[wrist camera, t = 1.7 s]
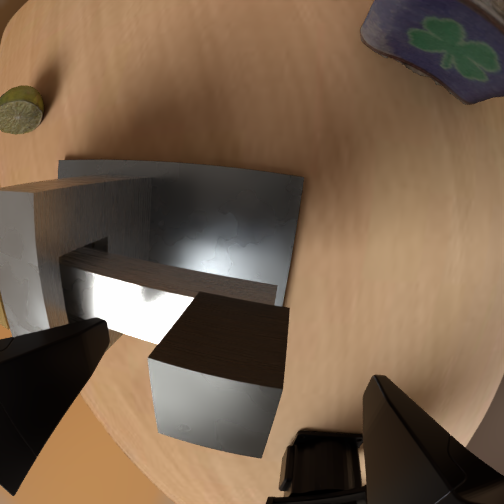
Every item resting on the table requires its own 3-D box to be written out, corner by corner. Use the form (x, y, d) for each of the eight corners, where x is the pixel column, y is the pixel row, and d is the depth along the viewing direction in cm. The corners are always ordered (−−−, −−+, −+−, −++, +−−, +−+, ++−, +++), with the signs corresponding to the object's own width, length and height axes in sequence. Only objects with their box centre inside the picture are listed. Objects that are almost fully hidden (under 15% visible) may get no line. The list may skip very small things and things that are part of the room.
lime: (58, 99, 16) (15, 92, 11) (35, 147, 18) (-8, 149, 13) (40, 80, 16) (0, 73, 11) (18, 125, 17) (-21, 125, 13)
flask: (354, 45, 13) (406, -67, 2) (365, 14, 12) (410, -92, 2) (474, 114, 12) (588, 92, 2) (479, 82, 11) (580, 46, 1)
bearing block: (303, 177, 16) (316, 183, 6) (274, 342, 19) (253, 465, 9) (63, 160, 18) (-42, 171, 8) (68, 288, 21) (-14, 342, 11)
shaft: (291, 280, 11) (283, 389, 5) (278, 341, 12) (261, 458, 6) (5, 223, 13) (-64, 248, 7) (10, 265, 14) (-54, 297, 8)
